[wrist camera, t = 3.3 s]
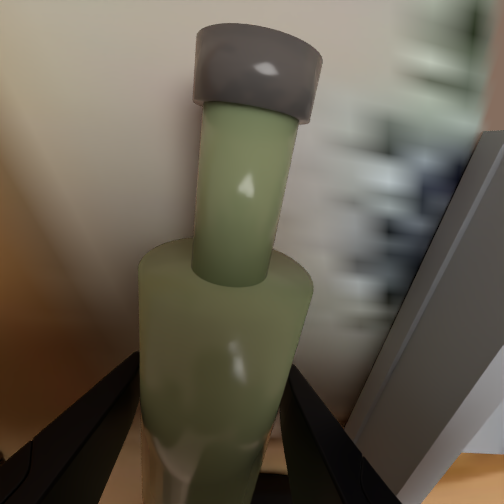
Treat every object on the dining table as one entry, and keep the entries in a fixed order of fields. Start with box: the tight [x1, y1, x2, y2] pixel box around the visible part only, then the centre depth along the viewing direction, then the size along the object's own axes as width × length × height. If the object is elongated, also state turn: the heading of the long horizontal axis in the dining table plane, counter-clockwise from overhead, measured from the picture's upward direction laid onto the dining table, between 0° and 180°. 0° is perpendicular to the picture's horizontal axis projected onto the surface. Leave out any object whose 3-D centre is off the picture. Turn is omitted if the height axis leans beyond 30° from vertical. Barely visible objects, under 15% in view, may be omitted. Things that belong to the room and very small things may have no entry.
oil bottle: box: [138, 23, 323, 504], centre depth 7 cm, size 14×4×4 cm, turn 171°
